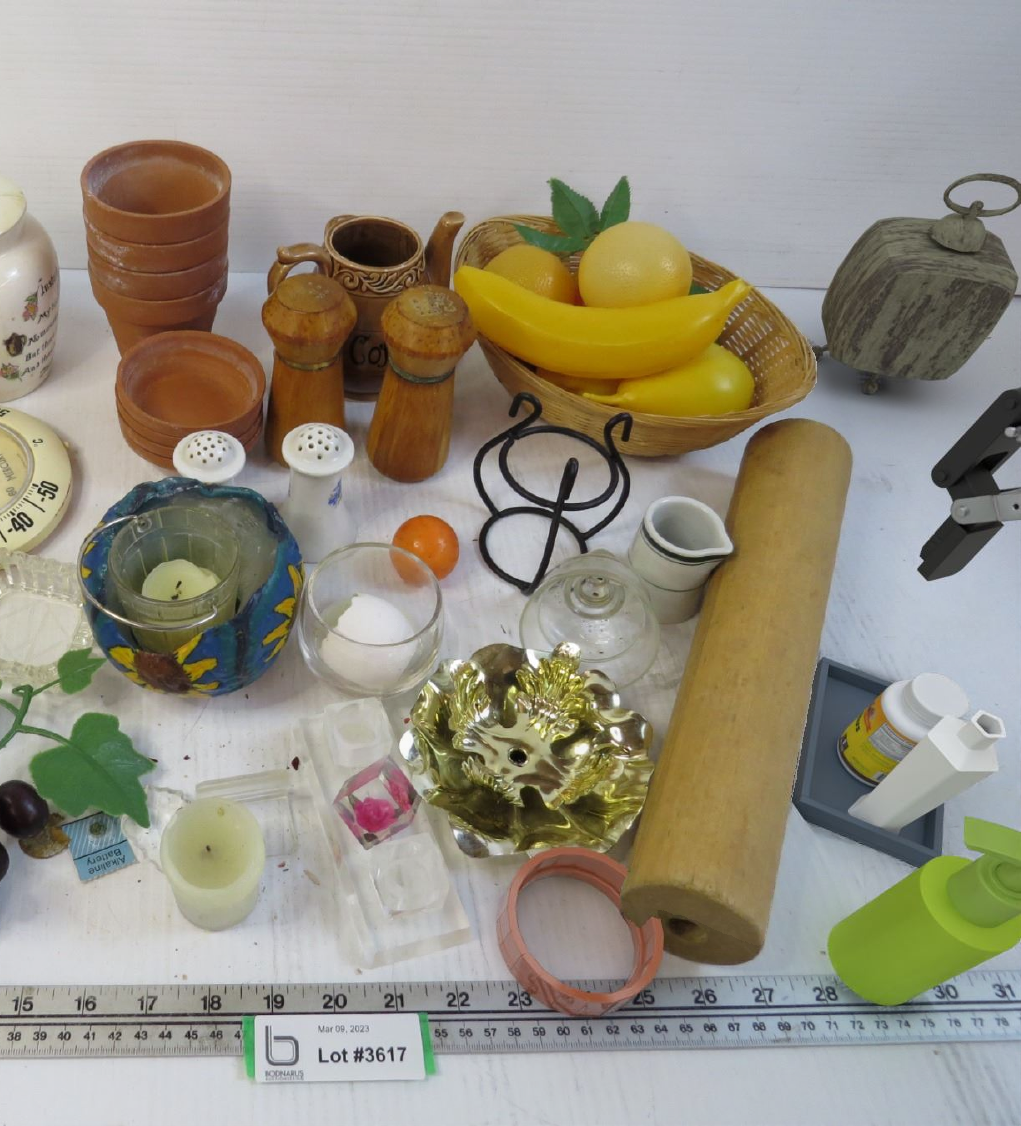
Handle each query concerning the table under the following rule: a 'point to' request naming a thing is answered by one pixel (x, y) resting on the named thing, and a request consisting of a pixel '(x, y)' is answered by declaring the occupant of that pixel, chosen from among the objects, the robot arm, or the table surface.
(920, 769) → the perfume bottle
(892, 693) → the supplement bottle
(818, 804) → the tray
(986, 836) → the soap dispenser
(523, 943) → the faceted terracotta bangle
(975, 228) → the tabletop clock
